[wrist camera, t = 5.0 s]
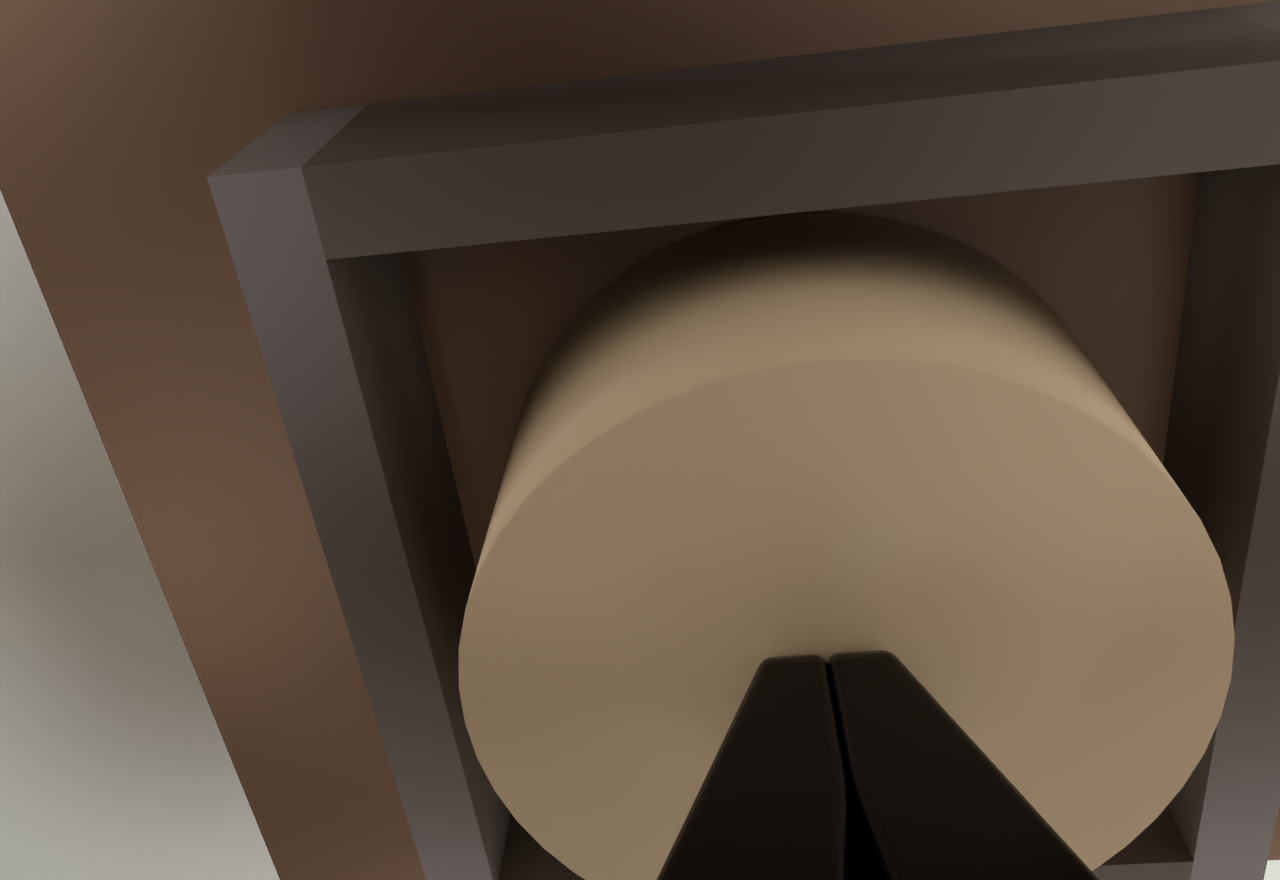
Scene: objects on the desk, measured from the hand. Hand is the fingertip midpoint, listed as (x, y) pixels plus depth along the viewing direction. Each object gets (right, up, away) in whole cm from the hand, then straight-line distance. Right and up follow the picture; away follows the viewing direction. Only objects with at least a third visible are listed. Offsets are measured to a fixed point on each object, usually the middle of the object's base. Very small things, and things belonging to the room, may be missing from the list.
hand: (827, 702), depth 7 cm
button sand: (0, +1, +2) cm, 3 cm away
